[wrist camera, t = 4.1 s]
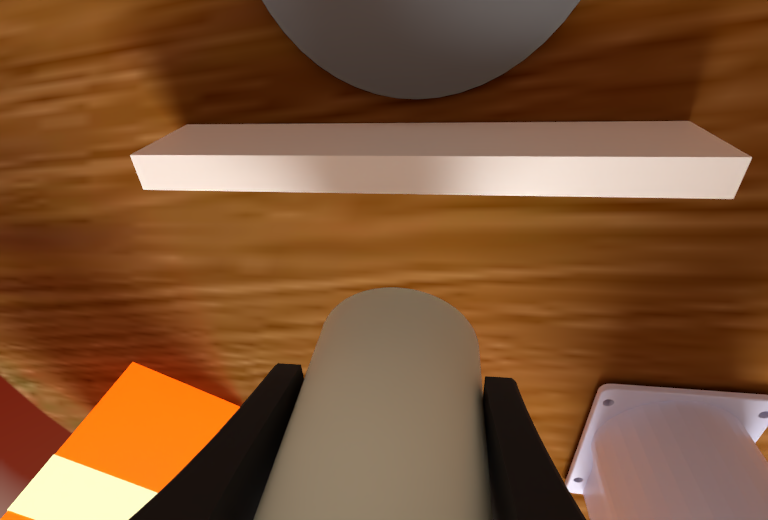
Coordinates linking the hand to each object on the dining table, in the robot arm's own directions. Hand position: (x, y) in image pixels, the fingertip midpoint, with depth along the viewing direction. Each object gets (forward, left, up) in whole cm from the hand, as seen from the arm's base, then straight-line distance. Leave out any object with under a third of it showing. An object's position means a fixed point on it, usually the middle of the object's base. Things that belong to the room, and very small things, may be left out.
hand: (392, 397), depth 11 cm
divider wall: (+4, 0, -9) cm, 9 cm away
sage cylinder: (0, 0, -2) cm, 2 cm away
